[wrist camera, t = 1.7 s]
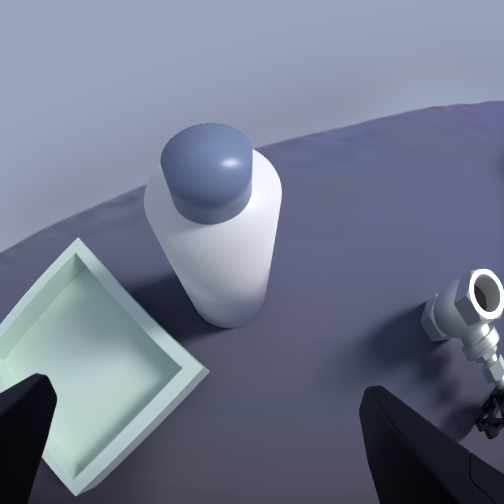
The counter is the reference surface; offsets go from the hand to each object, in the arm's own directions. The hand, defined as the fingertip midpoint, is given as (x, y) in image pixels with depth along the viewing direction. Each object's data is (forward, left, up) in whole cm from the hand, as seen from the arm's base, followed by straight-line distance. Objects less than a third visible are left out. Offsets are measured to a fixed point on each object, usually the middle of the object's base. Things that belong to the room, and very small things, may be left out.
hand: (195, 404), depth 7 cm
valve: (+13, -13, -13) cm, 23 cm away
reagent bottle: (+6, +5, -13) cm, 15 cm away
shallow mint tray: (-5, +8, -13) cm, 16 cm away
